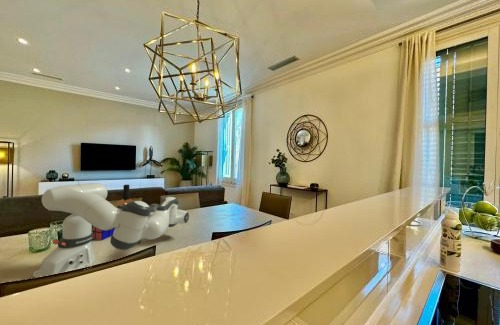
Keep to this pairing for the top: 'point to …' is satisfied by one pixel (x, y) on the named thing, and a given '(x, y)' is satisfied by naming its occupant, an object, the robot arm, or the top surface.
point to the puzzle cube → (102, 233)
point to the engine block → (153, 207)
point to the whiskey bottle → (124, 197)
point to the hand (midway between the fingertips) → (153, 211)
